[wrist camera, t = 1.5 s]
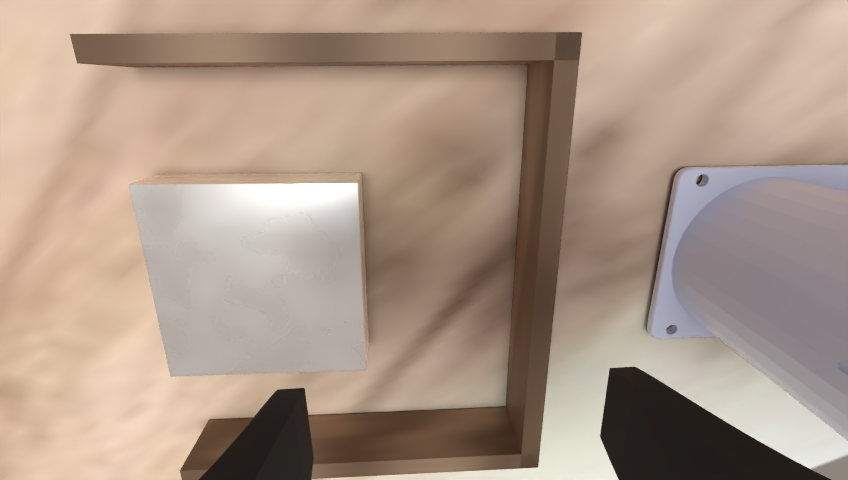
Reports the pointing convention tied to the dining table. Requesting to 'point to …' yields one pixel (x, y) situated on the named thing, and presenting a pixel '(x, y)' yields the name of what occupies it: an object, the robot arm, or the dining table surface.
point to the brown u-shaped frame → (535, 249)
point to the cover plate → (256, 271)
